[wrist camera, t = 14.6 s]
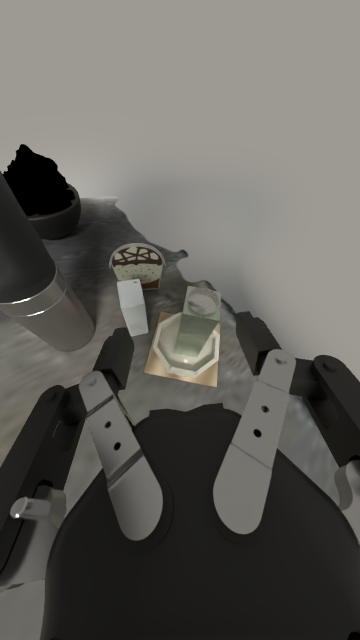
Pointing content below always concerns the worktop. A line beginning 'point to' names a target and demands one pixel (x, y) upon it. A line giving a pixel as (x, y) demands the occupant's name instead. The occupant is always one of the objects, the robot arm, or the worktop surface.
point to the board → (158, 369)
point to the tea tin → (197, 320)
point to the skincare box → (133, 306)
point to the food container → (138, 264)
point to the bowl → (183, 363)
